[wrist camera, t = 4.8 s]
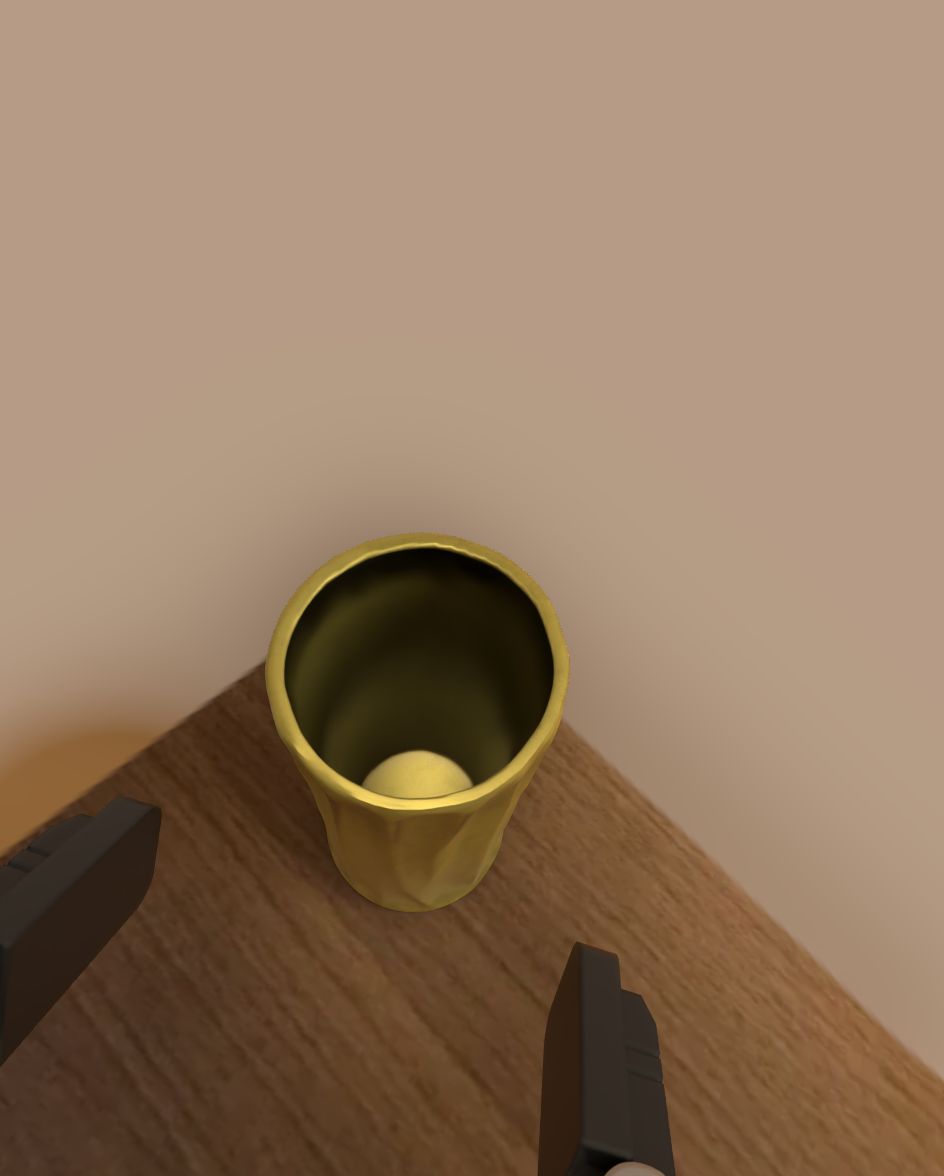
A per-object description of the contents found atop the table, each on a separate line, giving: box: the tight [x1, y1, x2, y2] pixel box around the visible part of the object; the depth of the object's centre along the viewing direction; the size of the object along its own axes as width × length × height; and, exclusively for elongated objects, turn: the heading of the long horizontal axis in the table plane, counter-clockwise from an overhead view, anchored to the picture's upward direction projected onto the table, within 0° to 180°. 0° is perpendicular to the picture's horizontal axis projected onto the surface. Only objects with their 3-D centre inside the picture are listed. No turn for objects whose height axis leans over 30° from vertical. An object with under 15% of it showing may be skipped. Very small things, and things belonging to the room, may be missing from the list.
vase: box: [265, 533, 570, 912], centre depth 18 cm, size 6×6×14 cm
